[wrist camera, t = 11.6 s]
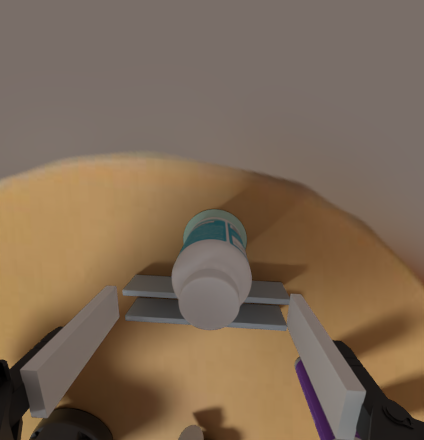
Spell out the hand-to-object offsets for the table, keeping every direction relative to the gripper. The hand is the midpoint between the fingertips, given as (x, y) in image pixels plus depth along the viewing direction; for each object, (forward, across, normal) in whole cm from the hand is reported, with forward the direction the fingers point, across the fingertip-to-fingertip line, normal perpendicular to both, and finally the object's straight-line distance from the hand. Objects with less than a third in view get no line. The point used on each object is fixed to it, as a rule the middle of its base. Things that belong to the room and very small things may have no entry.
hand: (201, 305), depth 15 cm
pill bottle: (+14, +1, 0) cm, 14 cm away
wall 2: (+14, 0, -10) cm, 17 cm away
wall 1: (+14, 0, -6) cm, 15 cm away
